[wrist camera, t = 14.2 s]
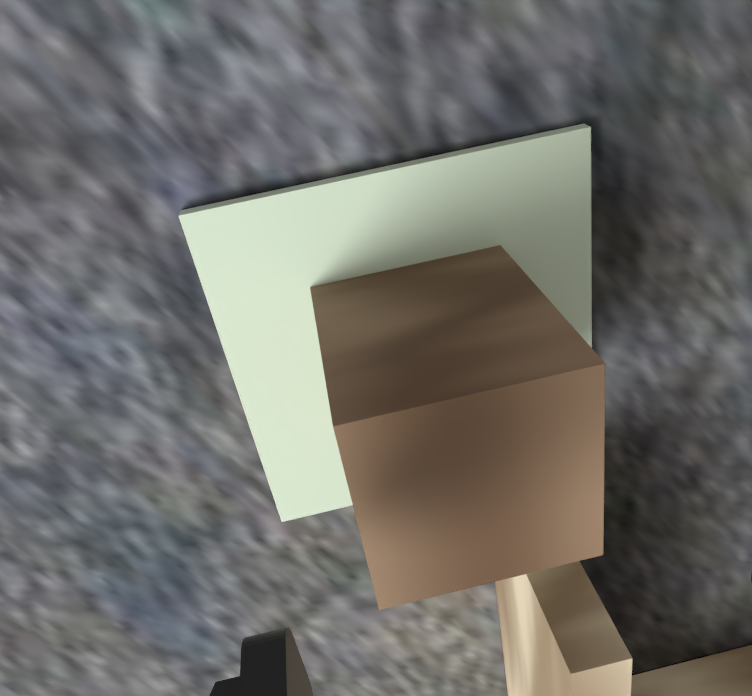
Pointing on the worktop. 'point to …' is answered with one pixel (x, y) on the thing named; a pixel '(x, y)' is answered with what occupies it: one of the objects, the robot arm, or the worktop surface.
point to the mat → (370, 255)
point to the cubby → (592, 646)
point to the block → (462, 423)
